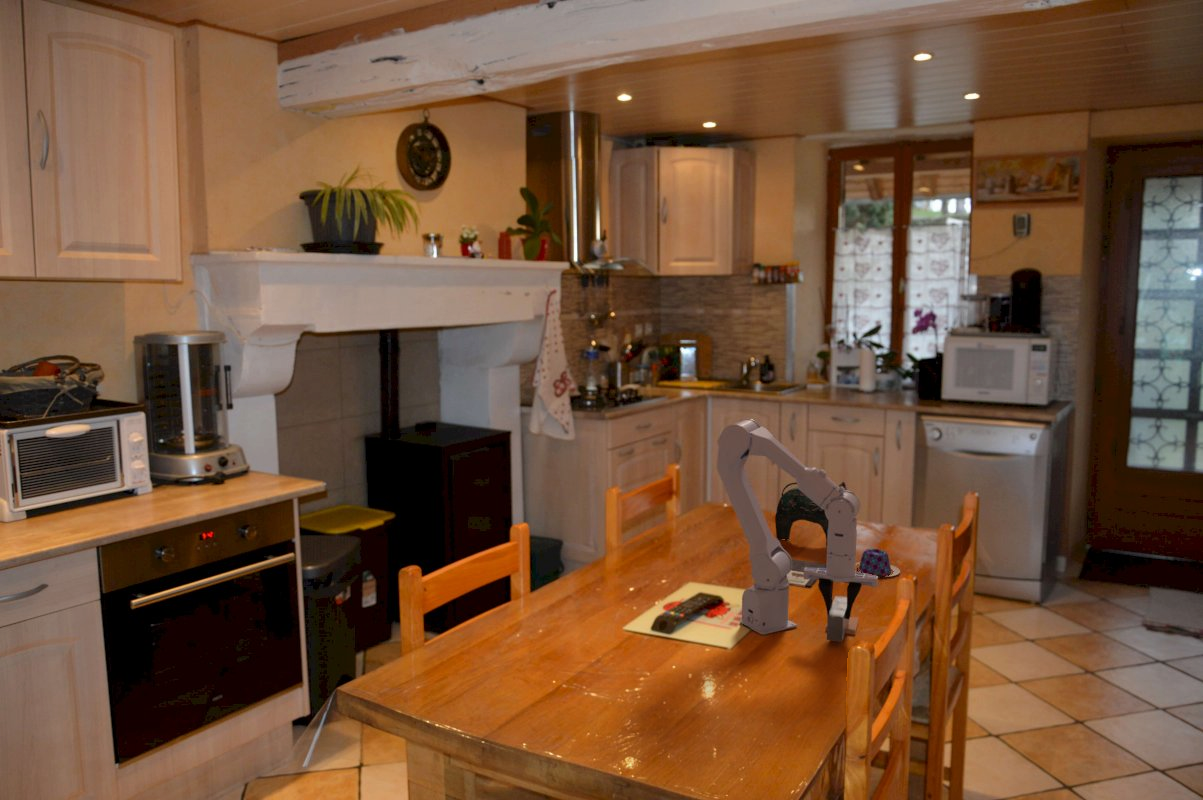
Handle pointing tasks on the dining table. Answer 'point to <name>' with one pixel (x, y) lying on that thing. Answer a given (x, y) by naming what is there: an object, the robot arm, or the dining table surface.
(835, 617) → the tall grey plank
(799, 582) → the chocolate bar
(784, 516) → the ceramic cat
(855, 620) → the tile
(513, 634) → the dining table surface
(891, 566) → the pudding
